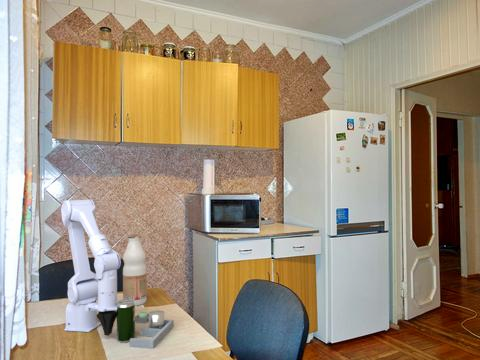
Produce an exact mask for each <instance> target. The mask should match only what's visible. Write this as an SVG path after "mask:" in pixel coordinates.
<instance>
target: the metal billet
mask: <svg viewBox="0 0 480 360" xmlns="http://www.w3.org/2000/svg"><path fill="white" fill-rule="evenodd" d="M148 313H149V322H148V328H154V329H162V328H163V327H164V320H165V311H163V310H158V309H157V310H152V311H150V312H148Z"/></svg>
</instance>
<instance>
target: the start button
mask: <svg viewBox="0 0 480 360" xmlns="http://www.w3.org/2000/svg"><path fill="white" fill-rule="evenodd" d="M147 313H148V312H147V311H141V312H139V313H138V314H139V318H146V317H147Z"/></svg>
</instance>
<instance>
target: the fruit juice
mask: <svg viewBox="0 0 480 360" xmlns="http://www.w3.org/2000/svg"><path fill="white" fill-rule="evenodd" d="M127 239H128V243H127V246H126V249H125V251H124V253H123V255H122V259H123V263H124V265H123V268H122V291H123V292H122V294H123V295H122V297H123V298H122V300H125V299H132V300H134V304H135V307H139V306H142V305H144V304H146V303H147V302H148V301H147V300H148V297H147V296H148V295H147V294H148V293H147V291H148V290H147V288H148V287H147V286H148V285H147V284H148V282H147V278H148V277H147V265H146V257H147V254H146V252H145V250H144V248H143V246H142V243H141V240H140V239H141V234H137V233H136V234H129V235H128V236H127Z"/></svg>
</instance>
